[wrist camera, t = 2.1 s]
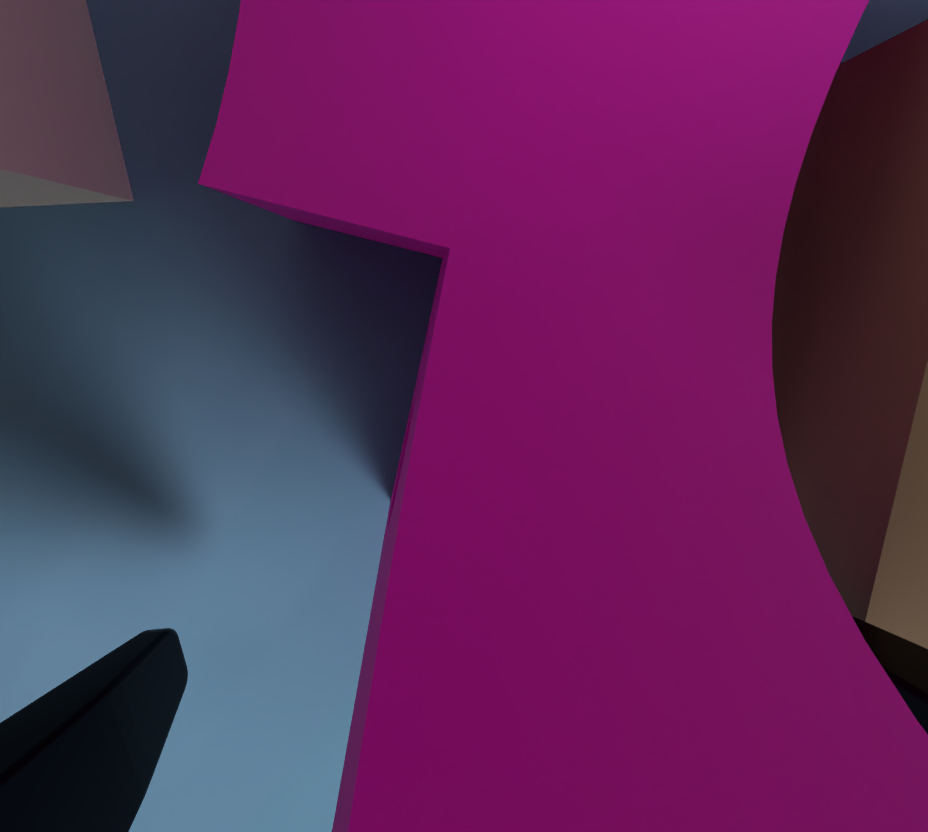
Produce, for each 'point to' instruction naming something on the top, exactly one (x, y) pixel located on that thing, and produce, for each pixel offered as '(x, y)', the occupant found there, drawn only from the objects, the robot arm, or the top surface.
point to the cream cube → (55, 109)
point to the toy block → (582, 412)
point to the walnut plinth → (862, 334)
